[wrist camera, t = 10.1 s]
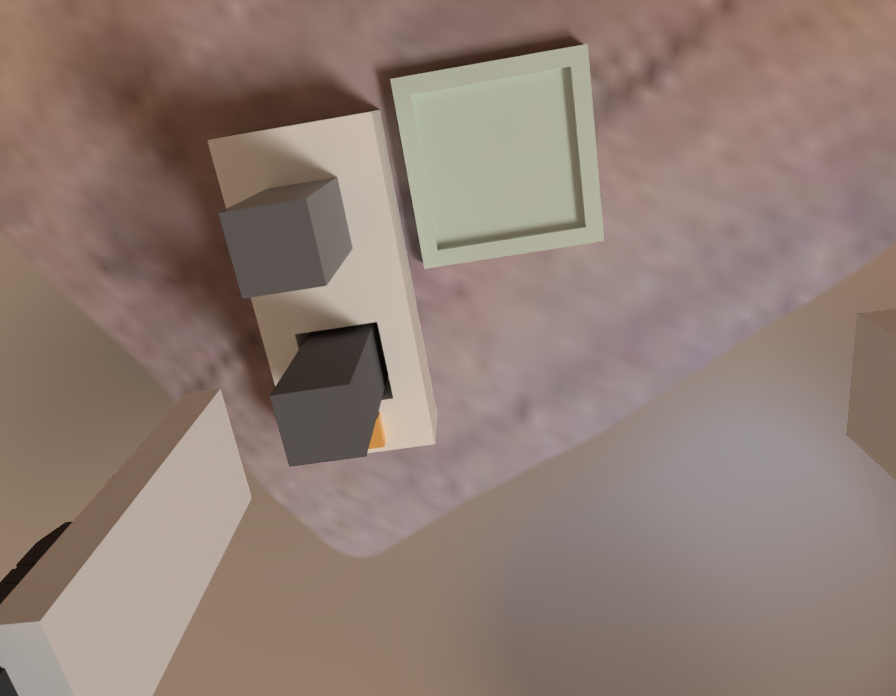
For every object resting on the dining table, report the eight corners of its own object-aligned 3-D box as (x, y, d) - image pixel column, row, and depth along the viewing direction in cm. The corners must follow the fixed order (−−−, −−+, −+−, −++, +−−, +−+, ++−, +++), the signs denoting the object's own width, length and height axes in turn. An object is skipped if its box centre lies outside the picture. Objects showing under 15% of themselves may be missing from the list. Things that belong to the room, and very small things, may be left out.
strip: (231, 135, 40) (142, 152, 29) (380, 109, 39) (347, 117, 28) (309, 433, 47) (262, 538, 36) (437, 415, 46) (428, 517, 35)
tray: (391, 79, 39) (390, 78, 38) (584, 44, 38) (587, 43, 37) (425, 264, 43) (424, 268, 42) (600, 237, 42) (604, 241, 41)
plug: (329, 380, 45) (289, 466, 34) (315, 323, 43) (269, 395, 33) (389, 371, 44) (366, 456, 34) (377, 314, 43) (349, 384, 33)
